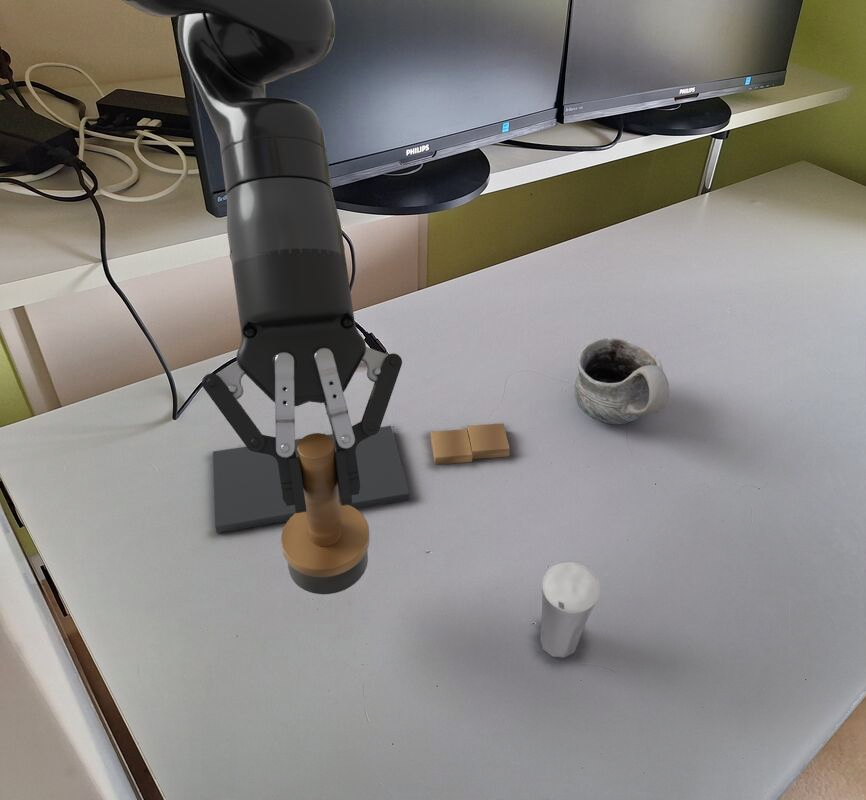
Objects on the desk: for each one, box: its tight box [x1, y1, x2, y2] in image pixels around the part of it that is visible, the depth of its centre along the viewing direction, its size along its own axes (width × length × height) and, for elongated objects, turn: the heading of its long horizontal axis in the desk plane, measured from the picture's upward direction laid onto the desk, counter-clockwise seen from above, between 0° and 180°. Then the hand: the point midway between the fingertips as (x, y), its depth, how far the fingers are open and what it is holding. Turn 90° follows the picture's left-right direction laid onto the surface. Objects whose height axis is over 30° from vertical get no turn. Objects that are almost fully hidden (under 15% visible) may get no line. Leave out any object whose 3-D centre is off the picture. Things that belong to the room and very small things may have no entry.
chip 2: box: [466, 423, 510, 460], centre depth 82 cm, size 4×4×1 cm
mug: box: [574, 336, 670, 425], centre depth 85 cm, size 10×12×10 cm
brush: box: [280, 432, 370, 595], centre depth 55 cm, size 6×6×13 cm
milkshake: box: [539, 561, 601, 659], centre depth 62 cm, size 4×5×10 cm
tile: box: [212, 425, 410, 534], centre depth 76 cm, size 18×10×1 cm, turn 109°
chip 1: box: [430, 428, 473, 466], centre depth 81 cm, size 4×4×1 cm
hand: (324, 506), depth 52 cm, fingers closed on brush, 2 cm apart
